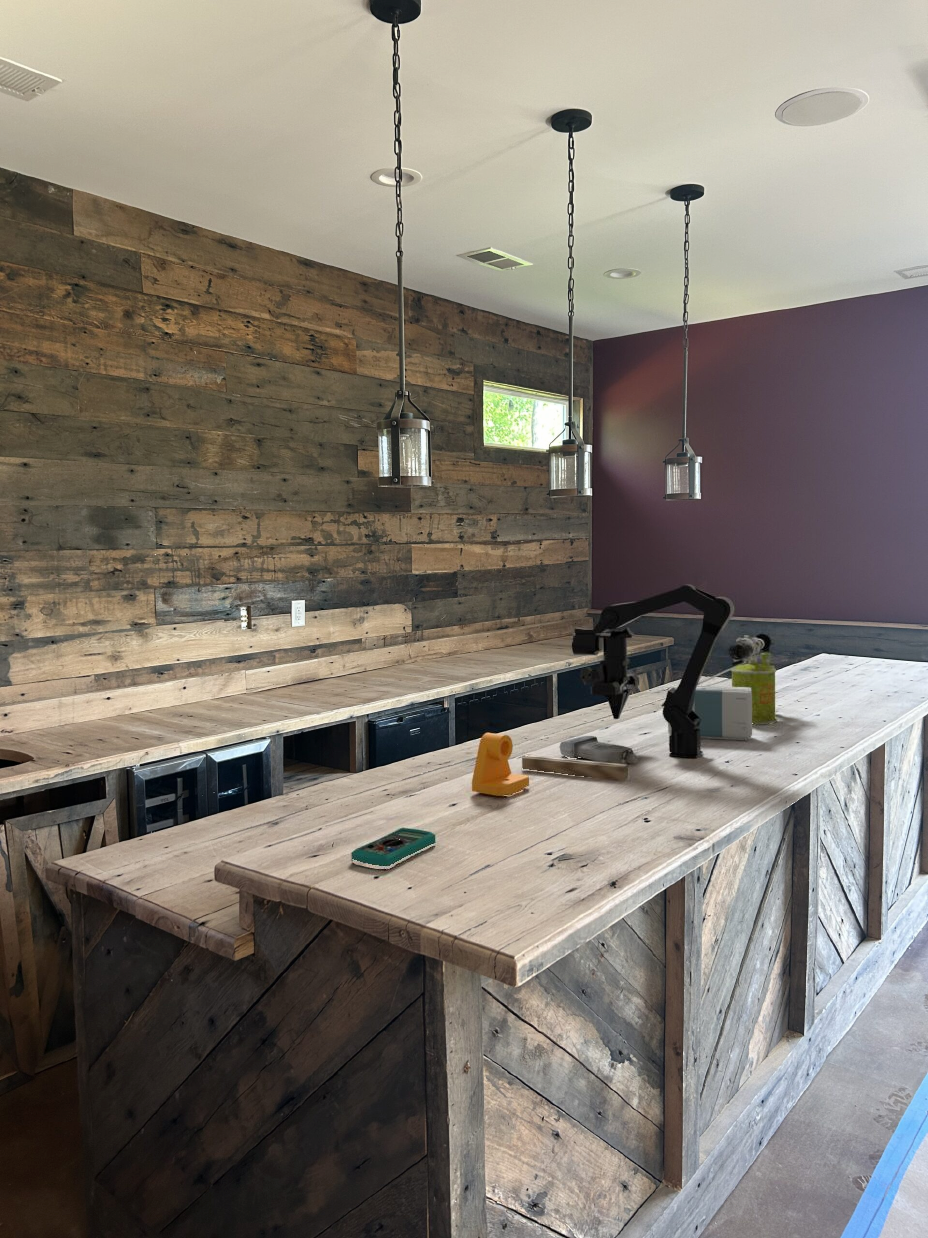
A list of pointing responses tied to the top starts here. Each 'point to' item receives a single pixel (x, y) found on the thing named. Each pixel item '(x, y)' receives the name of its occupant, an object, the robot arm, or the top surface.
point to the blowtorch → (755, 675)
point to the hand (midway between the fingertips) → (616, 718)
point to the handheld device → (597, 750)
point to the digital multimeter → (393, 847)
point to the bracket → (496, 767)
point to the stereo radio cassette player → (723, 711)
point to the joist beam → (577, 767)
